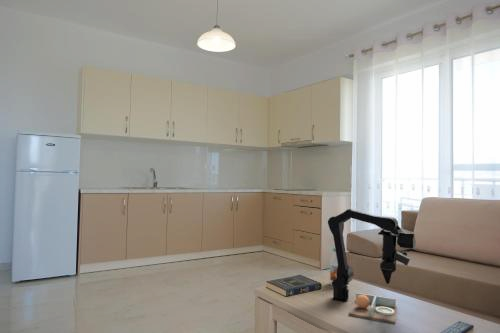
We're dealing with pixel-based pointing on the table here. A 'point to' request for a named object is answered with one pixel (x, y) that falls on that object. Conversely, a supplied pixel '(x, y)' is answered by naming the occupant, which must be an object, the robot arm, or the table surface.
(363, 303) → the ball
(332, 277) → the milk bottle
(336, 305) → the table surface
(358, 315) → the board
